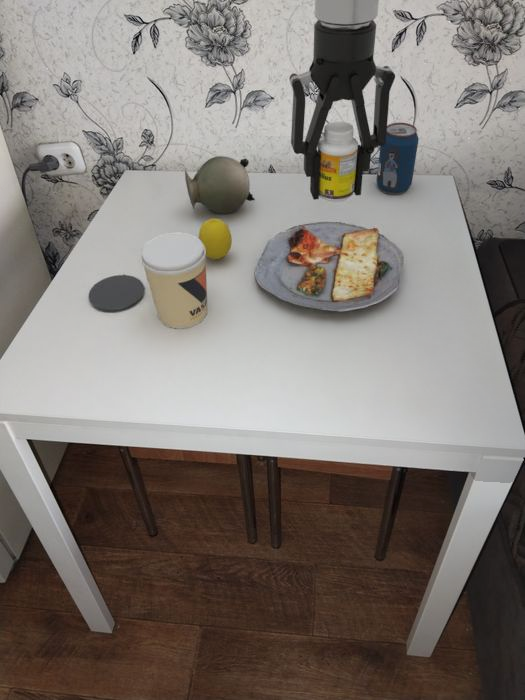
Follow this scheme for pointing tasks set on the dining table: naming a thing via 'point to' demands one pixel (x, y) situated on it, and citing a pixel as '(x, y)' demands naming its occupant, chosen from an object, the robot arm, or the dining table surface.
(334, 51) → the robot arm
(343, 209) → the dining table surface
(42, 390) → the dining table surface
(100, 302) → the slate coaster
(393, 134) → the soda can
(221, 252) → the lemon
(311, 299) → the food plate
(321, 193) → the supplement bottle
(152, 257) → the coffee cup
